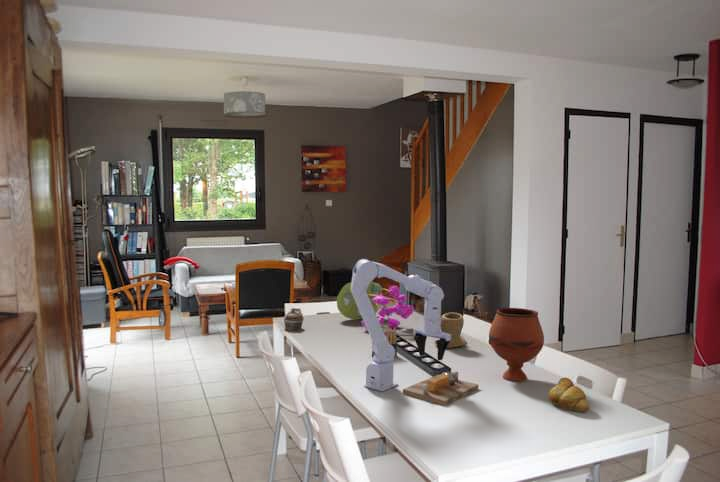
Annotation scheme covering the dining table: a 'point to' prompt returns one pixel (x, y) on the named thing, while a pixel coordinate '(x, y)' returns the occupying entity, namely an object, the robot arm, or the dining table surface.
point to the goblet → (516, 339)
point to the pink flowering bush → (374, 304)
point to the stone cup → (453, 328)
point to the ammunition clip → (390, 339)
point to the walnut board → (441, 391)
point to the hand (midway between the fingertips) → (430, 357)
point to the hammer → (441, 381)
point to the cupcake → (293, 320)
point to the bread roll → (568, 396)
